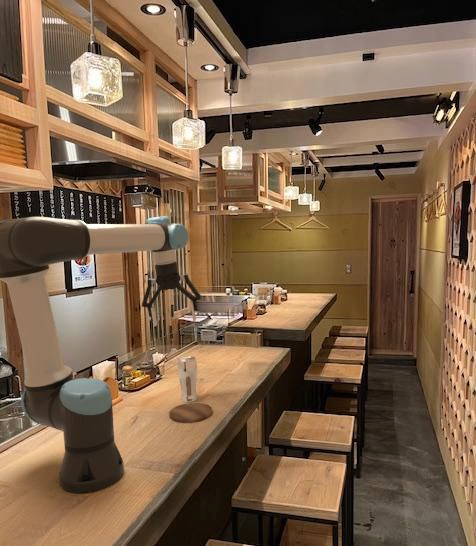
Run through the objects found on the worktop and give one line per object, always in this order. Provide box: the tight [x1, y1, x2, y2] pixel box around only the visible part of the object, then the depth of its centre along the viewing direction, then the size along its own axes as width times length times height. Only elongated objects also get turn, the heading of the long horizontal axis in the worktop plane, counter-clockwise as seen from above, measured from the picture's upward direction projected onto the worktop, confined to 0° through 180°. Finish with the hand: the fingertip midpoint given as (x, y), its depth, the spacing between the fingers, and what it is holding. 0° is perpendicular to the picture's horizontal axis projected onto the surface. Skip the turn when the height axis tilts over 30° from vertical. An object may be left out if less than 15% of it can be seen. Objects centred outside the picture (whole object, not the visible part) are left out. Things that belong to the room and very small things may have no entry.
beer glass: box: [177, 355, 199, 403], centre depth 161 cm, size 7×7×15 cm
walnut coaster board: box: [168, 402, 213, 424], centre depth 147 cm, size 14×14×1 cm
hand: (175, 322), depth 154 cm, fingers open, 13 cm apart
